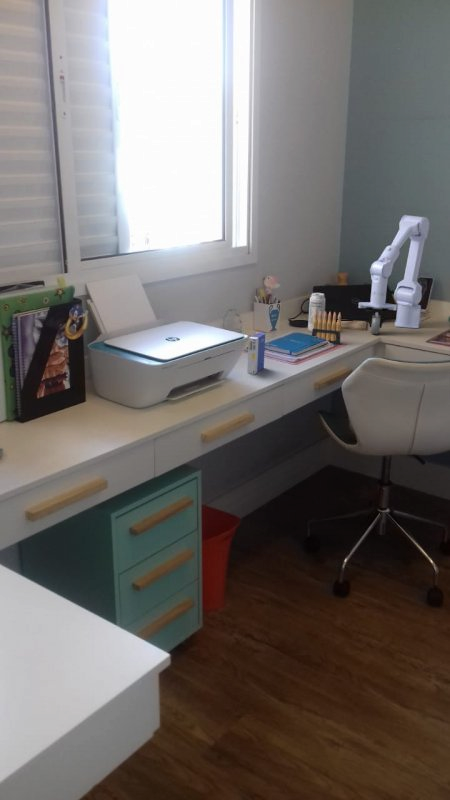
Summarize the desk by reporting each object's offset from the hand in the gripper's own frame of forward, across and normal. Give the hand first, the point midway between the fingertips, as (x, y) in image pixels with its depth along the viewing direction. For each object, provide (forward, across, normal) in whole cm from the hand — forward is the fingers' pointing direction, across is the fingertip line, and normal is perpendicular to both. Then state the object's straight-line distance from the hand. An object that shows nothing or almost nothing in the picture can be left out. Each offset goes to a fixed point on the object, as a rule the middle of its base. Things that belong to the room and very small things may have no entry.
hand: (375, 326), depth 287 cm
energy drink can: (+3, -23, -4) cm, 24 cm away
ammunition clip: (+3, -18, -19) cm, 26 cm away
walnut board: (+3, -10, +10) cm, 14 cm away
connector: (+2, 0, 0) cm, 2 cm away
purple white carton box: (+3, -38, -60) cm, 71 cm away
